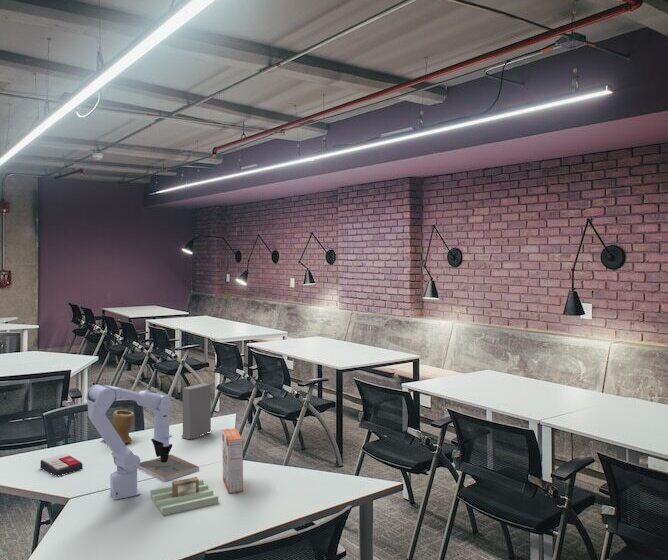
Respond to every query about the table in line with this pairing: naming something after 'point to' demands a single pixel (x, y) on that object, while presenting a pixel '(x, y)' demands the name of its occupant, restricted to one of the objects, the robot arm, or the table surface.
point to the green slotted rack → (182, 499)
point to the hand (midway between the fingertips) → (161, 459)
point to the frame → (185, 487)
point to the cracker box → (232, 460)
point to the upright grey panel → (196, 410)
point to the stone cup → (123, 424)
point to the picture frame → (168, 468)
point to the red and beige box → (61, 464)
